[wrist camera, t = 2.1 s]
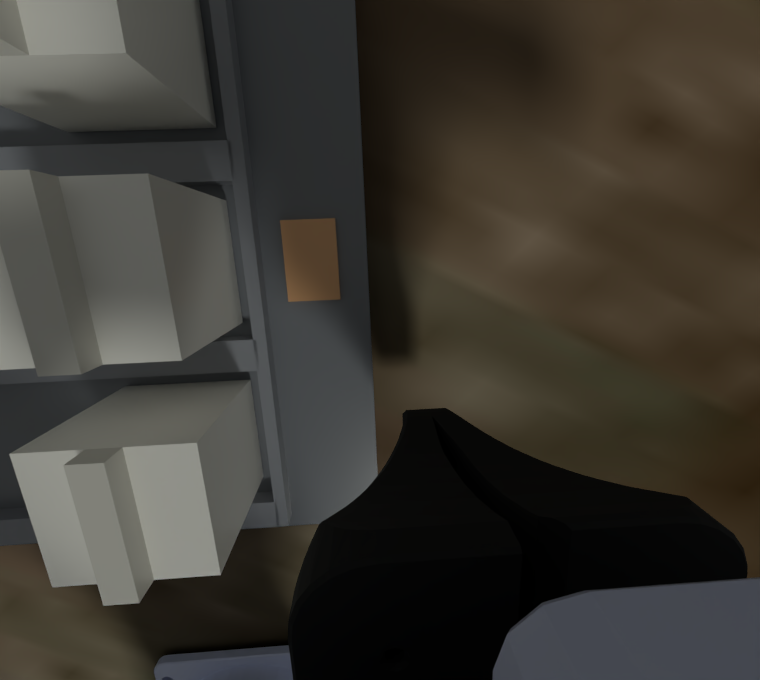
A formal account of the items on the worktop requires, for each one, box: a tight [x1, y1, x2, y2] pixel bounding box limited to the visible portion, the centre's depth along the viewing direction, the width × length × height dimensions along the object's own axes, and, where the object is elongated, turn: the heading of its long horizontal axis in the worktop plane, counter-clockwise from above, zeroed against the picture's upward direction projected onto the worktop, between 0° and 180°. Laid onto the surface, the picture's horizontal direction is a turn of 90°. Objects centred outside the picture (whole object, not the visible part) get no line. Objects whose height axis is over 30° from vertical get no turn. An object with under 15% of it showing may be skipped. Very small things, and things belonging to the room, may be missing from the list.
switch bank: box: [0, 0, 378, 546], centre depth 11 cm, size 19×18×2 cm
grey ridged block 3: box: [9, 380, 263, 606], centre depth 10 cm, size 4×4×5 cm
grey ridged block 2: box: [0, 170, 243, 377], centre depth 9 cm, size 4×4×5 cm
